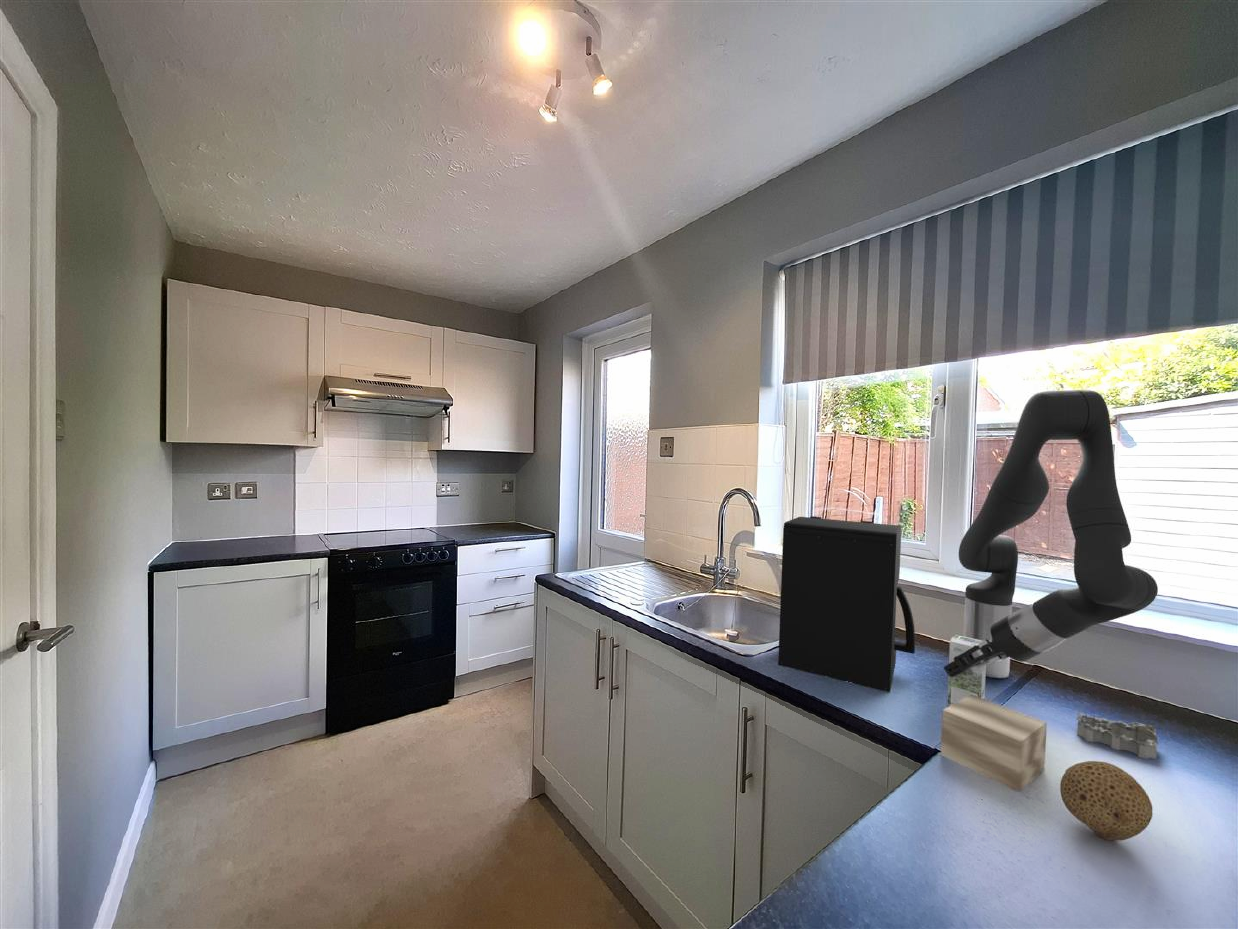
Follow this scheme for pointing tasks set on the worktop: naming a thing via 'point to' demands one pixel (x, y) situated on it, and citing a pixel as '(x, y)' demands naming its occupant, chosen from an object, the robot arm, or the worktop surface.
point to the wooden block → (994, 741)
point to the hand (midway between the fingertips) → (959, 669)
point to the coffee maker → (842, 600)
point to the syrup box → (965, 673)
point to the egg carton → (1119, 735)
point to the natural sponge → (1106, 799)
